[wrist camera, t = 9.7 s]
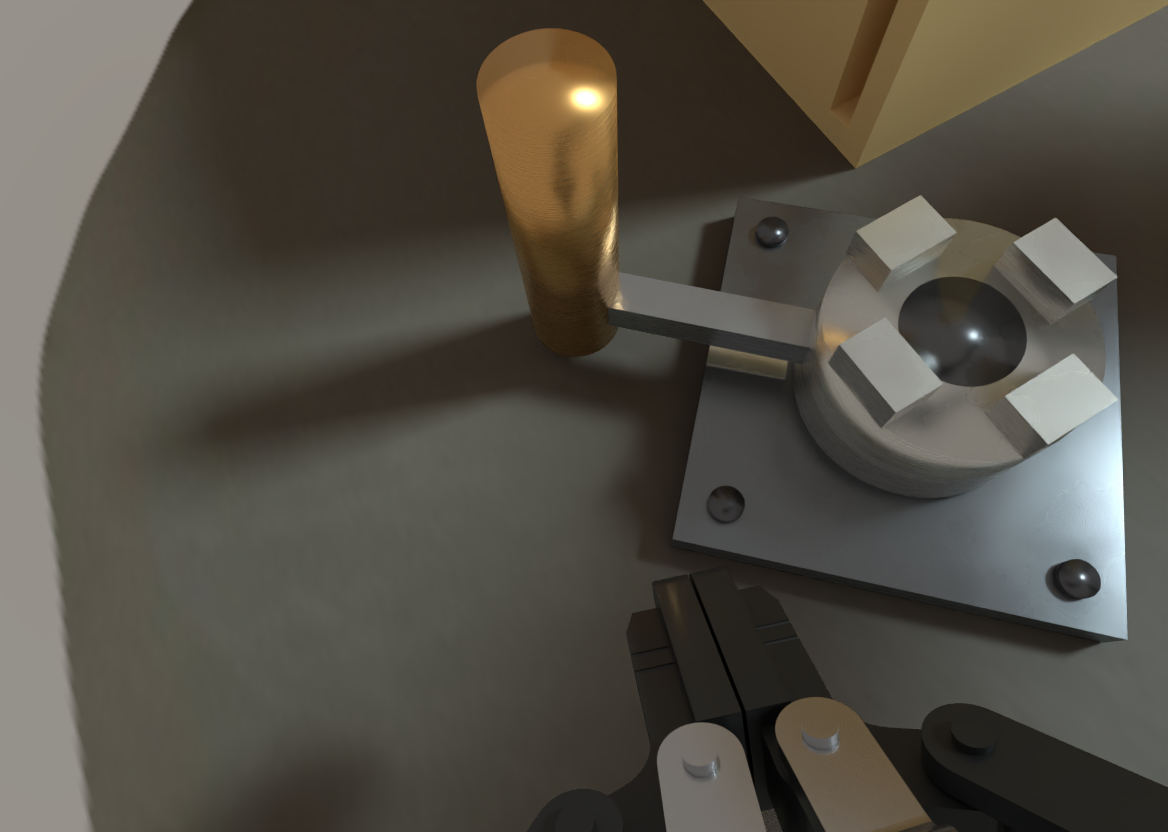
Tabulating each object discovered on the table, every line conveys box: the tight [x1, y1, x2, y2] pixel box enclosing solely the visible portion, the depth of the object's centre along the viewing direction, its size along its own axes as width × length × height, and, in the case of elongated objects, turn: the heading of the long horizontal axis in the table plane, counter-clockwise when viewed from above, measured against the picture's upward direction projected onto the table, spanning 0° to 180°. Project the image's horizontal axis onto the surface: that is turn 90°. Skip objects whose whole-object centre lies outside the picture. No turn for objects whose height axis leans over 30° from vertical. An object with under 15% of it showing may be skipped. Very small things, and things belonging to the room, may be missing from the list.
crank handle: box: [476, 28, 1118, 498], centre depth 20 cm, size 18×8×11 cm, turn 76°
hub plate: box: [671, 197, 1127, 642], centre depth 26 cm, size 14×14×2 cm
